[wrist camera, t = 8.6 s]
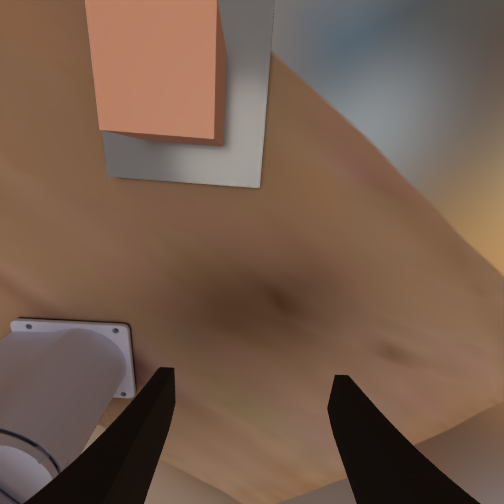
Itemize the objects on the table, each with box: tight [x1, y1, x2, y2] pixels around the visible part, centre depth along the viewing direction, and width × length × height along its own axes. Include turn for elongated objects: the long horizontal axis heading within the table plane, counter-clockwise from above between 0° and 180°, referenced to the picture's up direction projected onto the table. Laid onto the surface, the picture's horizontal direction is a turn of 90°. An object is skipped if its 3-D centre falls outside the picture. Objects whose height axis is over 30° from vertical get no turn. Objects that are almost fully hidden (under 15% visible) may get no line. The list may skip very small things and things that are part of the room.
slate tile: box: [102, 0, 275, 188], centre depth 16 cm, size 10×10×1 cm
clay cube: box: [85, 0, 227, 147], centre depth 13 cm, size 5×5×5 cm
